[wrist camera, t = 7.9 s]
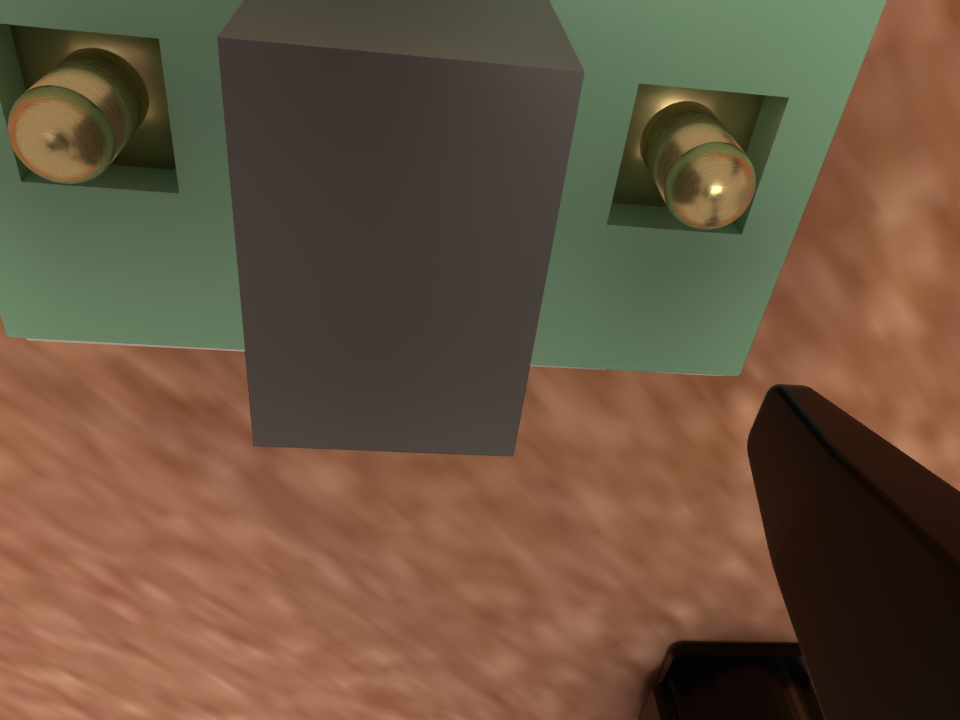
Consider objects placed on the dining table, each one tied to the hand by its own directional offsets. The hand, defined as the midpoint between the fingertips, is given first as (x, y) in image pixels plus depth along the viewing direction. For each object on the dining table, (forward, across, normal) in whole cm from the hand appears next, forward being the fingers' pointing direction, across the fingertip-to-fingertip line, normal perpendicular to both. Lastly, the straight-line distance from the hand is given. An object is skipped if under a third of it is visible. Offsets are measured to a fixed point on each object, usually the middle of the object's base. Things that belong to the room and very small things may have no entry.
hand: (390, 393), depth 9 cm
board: (+8, 0, 0) cm, 8 cm away
